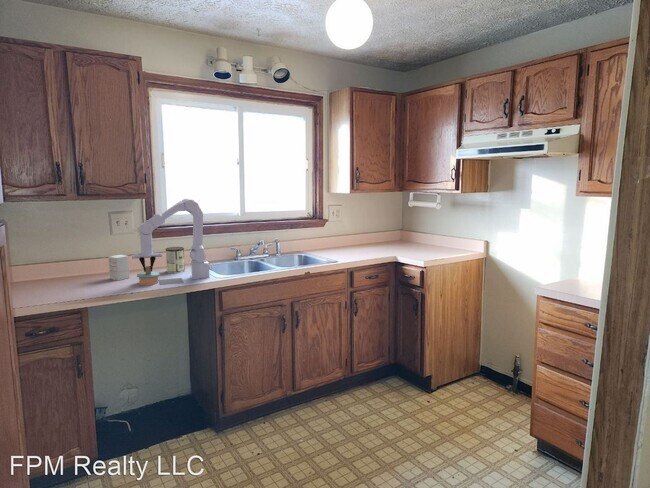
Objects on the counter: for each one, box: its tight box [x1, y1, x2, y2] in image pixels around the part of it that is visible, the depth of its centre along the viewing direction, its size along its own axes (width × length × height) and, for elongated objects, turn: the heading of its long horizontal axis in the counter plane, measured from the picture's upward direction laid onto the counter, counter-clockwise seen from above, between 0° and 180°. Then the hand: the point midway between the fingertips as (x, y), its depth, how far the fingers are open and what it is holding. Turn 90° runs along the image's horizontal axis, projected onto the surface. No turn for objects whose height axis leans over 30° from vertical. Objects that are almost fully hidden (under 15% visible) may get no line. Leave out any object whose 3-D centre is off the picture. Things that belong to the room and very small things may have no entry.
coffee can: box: [165, 246, 186, 274], centre depth 251 cm, size 10×10×14 cm
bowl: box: [138, 276, 159, 286], centre depth 223 cm, size 9×9×4 cm
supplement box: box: [107, 254, 130, 281], centre depth 233 cm, size 7×7×13 cm
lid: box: [136, 265, 161, 279], centre depth 223 cm, size 11×11×5 cm
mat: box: [158, 277, 185, 286], centre depth 227 cm, size 12×12×1 cm
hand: (148, 271), depth 222 cm, fingers closed on lid, 2 cm apart
